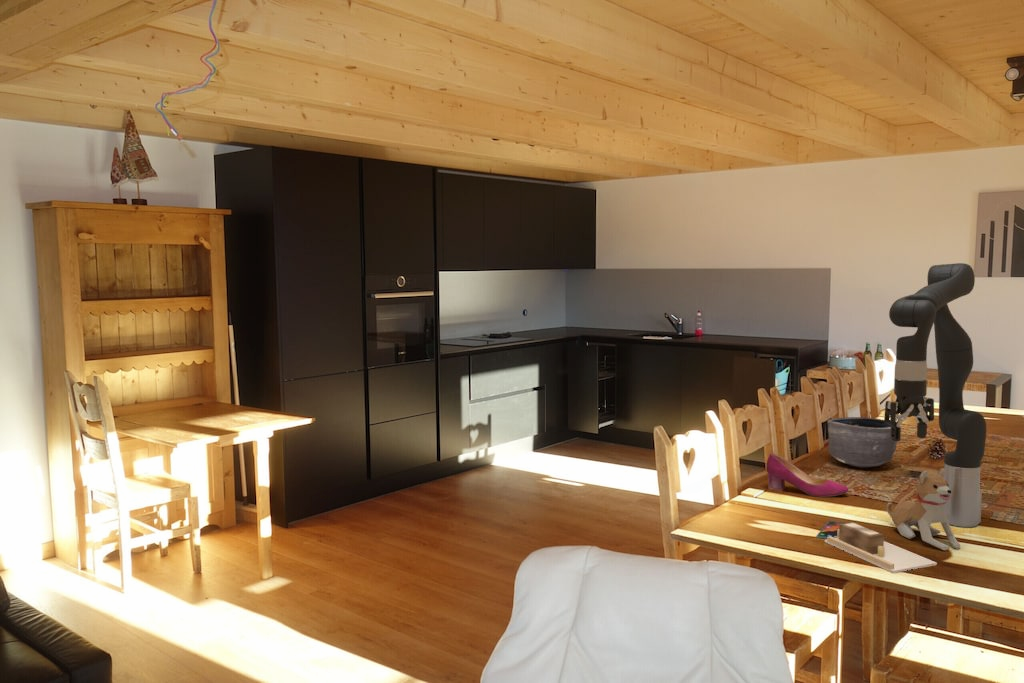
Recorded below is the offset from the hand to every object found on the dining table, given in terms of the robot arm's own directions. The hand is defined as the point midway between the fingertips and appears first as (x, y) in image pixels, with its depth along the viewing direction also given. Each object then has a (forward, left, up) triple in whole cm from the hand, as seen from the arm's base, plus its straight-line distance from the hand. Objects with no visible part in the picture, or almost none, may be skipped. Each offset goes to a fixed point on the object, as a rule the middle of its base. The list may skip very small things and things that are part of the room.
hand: (908, 439), depth 209 cm
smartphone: (+5, -19, -31) cm, 36 cm away
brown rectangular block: (+9, -6, -30) cm, 31 cm away
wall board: (+7, -2, -30) cm, 31 cm away
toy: (-13, -8, -30) cm, 34 cm away
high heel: (-14, -54, -30) cm, 64 cm away
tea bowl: (-56, -75, -30) cm, 98 cm away
